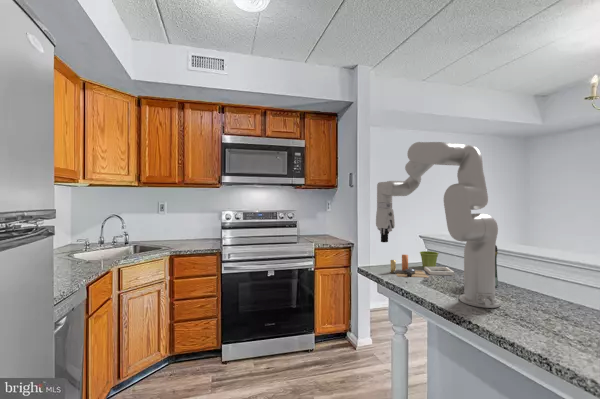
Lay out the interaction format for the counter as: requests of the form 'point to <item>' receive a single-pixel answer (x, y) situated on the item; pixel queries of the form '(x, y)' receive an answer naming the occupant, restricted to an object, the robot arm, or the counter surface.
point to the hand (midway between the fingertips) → (384, 242)
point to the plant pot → (429, 258)
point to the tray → (446, 272)
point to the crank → (393, 270)
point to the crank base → (409, 274)
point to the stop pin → (404, 262)
